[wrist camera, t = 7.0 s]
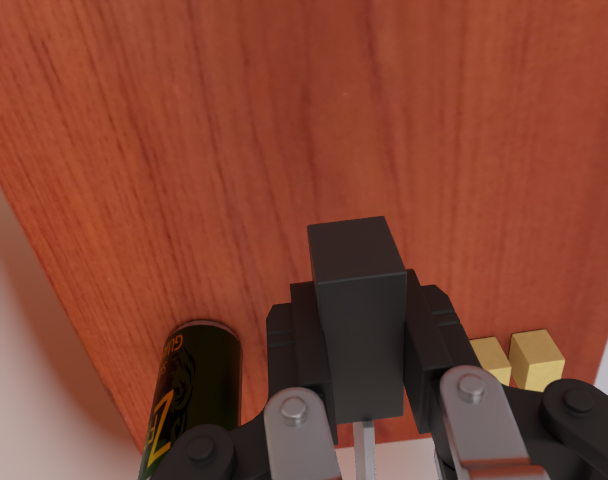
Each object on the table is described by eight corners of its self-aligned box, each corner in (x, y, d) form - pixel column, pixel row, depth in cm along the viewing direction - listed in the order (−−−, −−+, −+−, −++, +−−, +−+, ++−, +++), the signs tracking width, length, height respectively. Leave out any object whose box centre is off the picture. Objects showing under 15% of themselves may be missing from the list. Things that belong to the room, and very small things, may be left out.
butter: (495, 335, 38) (512, 367, 36) (491, 368, 40) (506, 399, 38) (420, 346, 38) (431, 378, 36) (419, 378, 40) (430, 410, 38)
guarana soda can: (252, 325, 36) (251, 494, 26) (231, 376, 39) (222, 547, 29) (174, 309, 34) (141, 481, 25) (157, 363, 37) (122, 538, 27)
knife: (306, 224, 13) (317, 289, 11) (384, 214, 13) (409, 277, 11) (337, 513, 21) (347, 584, 19) (386, 507, 21) (401, 576, 19)
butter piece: (545, 328, 38) (565, 359, 36) (538, 361, 40) (557, 392, 38) (511, 333, 38) (529, 364, 36) (506, 365, 40) (523, 397, 38)
